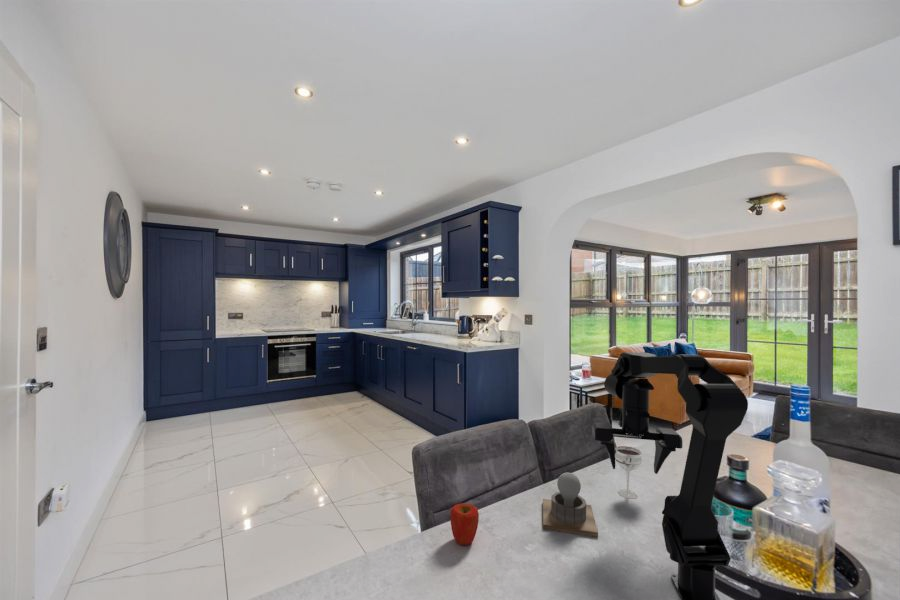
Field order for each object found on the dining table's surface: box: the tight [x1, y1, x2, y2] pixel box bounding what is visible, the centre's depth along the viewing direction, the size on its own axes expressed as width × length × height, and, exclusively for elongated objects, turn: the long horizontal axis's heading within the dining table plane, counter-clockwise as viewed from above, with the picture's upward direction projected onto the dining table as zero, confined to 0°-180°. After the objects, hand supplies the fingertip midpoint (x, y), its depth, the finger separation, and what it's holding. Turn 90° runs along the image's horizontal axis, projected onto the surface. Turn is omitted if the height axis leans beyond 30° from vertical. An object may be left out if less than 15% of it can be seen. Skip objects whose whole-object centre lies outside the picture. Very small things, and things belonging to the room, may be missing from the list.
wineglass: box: [614, 445, 643, 499], centre depth 105 cm, size 7×7×12 cm
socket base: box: [542, 491, 599, 538], centre depth 93 cm, size 12×12×4 cm
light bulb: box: [556, 471, 582, 507], centre depth 93 cm, size 5×6×10 cm
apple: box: [449, 502, 480, 546], centre depth 83 cm, size 6×6×8 cm
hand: (634, 470), depth 90 cm, fingers open, 9 cm apart
